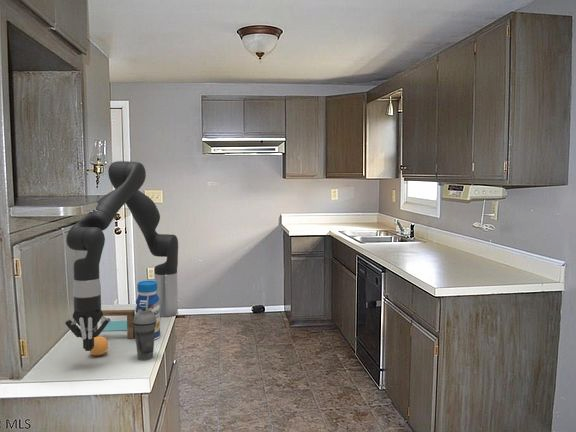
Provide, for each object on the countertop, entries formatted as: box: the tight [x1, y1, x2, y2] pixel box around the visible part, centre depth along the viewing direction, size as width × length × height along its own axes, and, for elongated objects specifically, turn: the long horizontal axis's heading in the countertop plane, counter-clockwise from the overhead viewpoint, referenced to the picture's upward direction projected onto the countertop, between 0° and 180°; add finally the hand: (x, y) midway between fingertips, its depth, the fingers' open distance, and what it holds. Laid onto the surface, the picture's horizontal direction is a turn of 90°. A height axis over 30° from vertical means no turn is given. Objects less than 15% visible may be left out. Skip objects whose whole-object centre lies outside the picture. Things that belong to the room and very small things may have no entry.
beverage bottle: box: [134, 280, 161, 341], centre depth 170 cm, size 8×8×20 cm
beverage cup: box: [133, 295, 157, 361], centre depth 151 cm, size 7×7×20 cm
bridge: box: [95, 309, 136, 340], centre depth 170 cm, size 3×15×10 cm, turn 95°
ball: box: [89, 335, 109, 357], centre depth 154 cm, size 6×6×6 cm
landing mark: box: [102, 320, 127, 332], centre depth 184 cm, size 12×12×1 cm
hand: (88, 350), depth 145 cm, fingers closed
